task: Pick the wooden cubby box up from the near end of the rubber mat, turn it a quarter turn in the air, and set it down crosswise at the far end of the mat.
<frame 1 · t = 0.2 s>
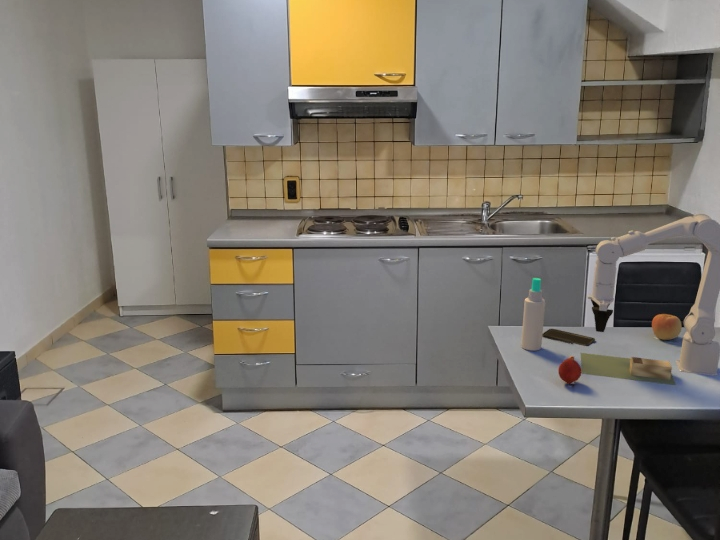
hand: (599, 327, 188), 10 cm above the table, tool pointing down, fingers open, 7 cm apart
apple: (664, 338, 208), on the table
spray bottle: (530, 348, 199), on the table
onion: (568, 384, 174), on the table
rubber mat: (625, 369, 183), on the table
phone: (568, 340, 207), on the table
wooden cubby box: (649, 374, 179), resting on rubber mat
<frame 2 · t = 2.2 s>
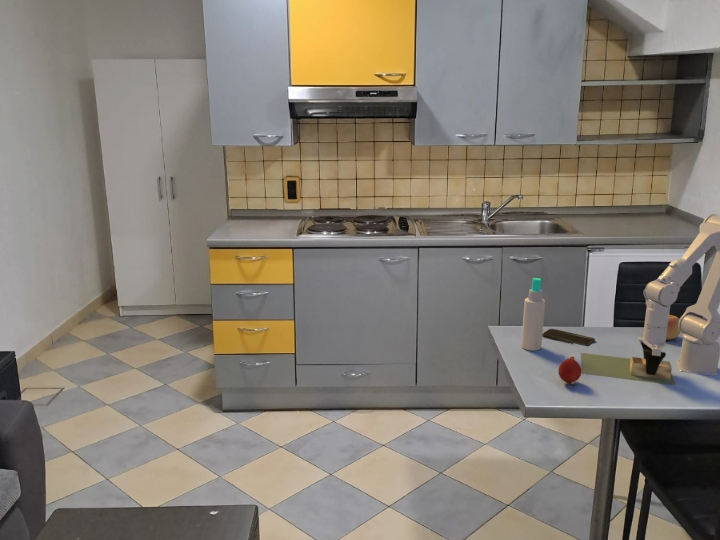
hand: (649, 370, 179), 1 cm above the table, tool pointing down, fingers closed on wooden cubby box, 4 cm apart
wooden cubby box: (649, 374, 179), resting on rubber mat, touching gripper
everything else where it was.
when the fingers open (3 cm above the table, at t = 6.1 s): wooden cubby box drops 1 cm, resting on rubber mat.
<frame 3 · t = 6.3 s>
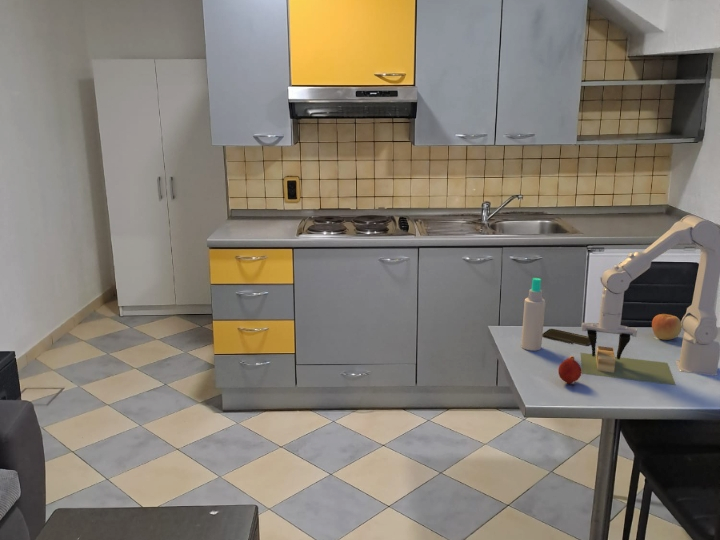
hand: (605, 356, 185), 3 cm above the table, tool pointing down, fingers open, 6 cm apart
wooden cubby box: (604, 364, 185), resting on rubber mat
everything else where it was.
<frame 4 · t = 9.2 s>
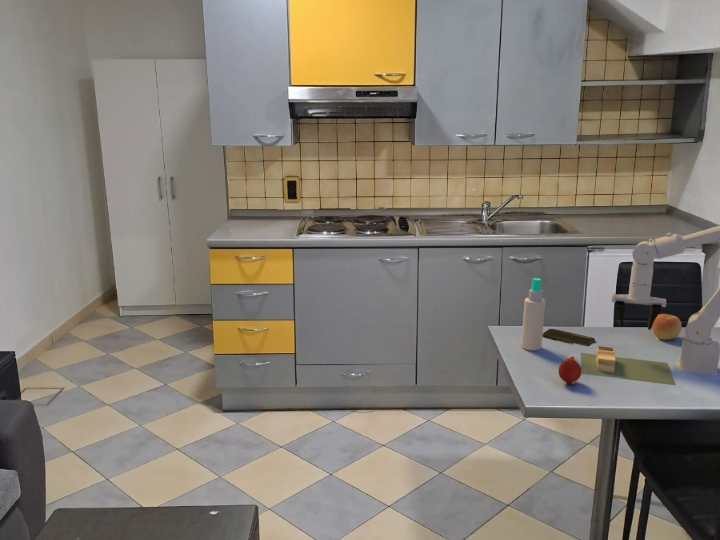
hand: (635, 327, 190), 9 cm above the table, tool pointing down, fingers open, 7 cm apart
nothing on the table moved.
at the end: wooden cubby box 0.0 cm from the target spot on the rubber mat, point 0.4 cm above the rubber mat's base; wooden cubby box tilted 0°; the gripper is holding nothing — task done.
